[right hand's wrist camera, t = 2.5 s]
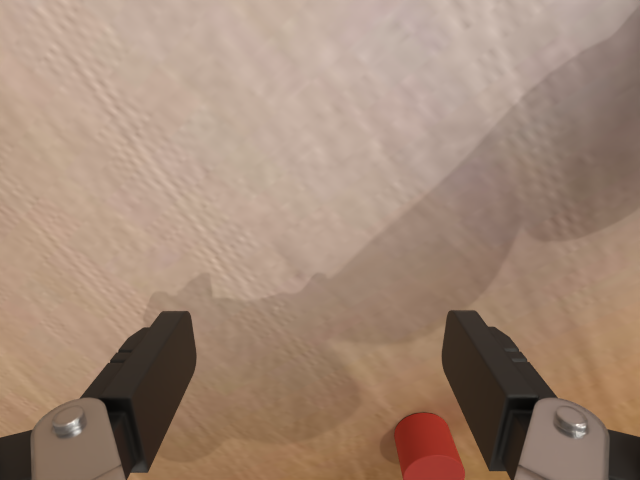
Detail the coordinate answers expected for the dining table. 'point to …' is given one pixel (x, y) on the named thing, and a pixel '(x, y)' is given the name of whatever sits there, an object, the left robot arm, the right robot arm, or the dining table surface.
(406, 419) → the can
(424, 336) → the dining table surface
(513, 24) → the dining table surface
